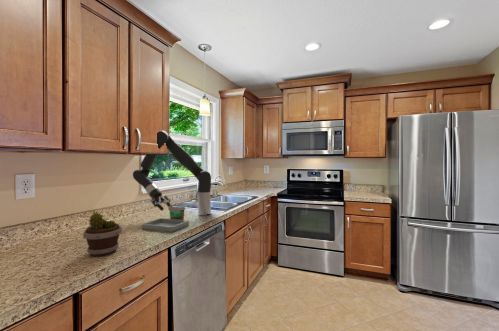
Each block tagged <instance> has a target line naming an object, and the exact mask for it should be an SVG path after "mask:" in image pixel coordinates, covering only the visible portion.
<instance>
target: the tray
mask: <svg viewBox="0 0 499 331" xmlns="http://www.w3.org/2000/svg"><path fill="white" fill-rule="evenodd" d="M189 222H190V221H189V220H185V219H184V220H176V219H170V218H162V217H160V218H157V219H154V220H151V221H148V222H145V223H142V224H141V229H142V230H147V231H156V232H157V231H158V232H163V233H164V232H165V233H175V232H176V231H179V230H181V229H184V228H186V227H188V226H189V225H190V224H189Z"/></svg>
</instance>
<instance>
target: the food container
mask: <svg viewBox="0 0 499 331" xmlns="http://www.w3.org/2000/svg"><path fill="white" fill-rule="evenodd" d="M185 210H186V207H185V206H172V207H171V206H169V207H168V211H169V219H176V220H185V219H184V217H185Z"/></svg>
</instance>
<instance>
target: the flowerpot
mask: <svg viewBox="0 0 499 331" xmlns="http://www.w3.org/2000/svg"><path fill="white" fill-rule="evenodd" d="M104 217H105V216H104V214H101V212H99V211H93V213H91V215H89V218H88V222H89V223H88V227H86V229H85V230H84V232H83V234H82V236H83V238H84V239H85V240H86V243H87V245H88V247H87V251H86V252H87V253H88V254H90V256H92V257H104V256H109V255H111V254H113V253H116V251H117V250H118V248H119V237H120V234H121V233H122V231H123V230H122V228H123V227H122V226H120V224H119V223H116V221H115V219H113V220H112V219H109V220H108V219H106V218H104Z"/></svg>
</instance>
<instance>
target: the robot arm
mask: <svg viewBox="0 0 499 331" xmlns="http://www.w3.org/2000/svg"><path fill="white" fill-rule="evenodd" d="M158 131H159V132H158ZM158 131H157V132H158V133H157V144H158V148H159V149H160V150H161V148H162V147H164V143H166V146H167V148H166V149H167V150H168V151H169V152H170V153H171V155H172V156H173V158H174V159H175V160H176V161H177V162H178V163H179V164H180V165H182V167H184V168H185V169H186V170H188V171H189V172H190V173H191V174H192V175H193V176H194V178H196V180H198V188H197V200H198V201H197V202H198V203H197V204H198V205H197V209H198V211H197V212H198V214H199V215H198V216H208V215H207V214H210V213H212V204H211V203H212V202H211V188H212V175H211V173H210V172H209V171H206V170H204V169H203V168H201V166H200V165H198V164H197V163H196V161H195V160H194V158H193V157H192V156H191V155H190V154H189V153H188V152H187V151H186V150H185V149H184V148H182V146H181V145H179V144H178V143H176V141H174V139H173V138H172V137H171V136H170V135H169V133H168V132H167V131H165V130H162V131H161V130H158ZM157 156H158V153H157V154H153V155H146V154H145V155H144V157H143V159H142V161H141V162H140V167H141V169H136V170H133V172H132V178H133V179H134V180H135V181H136V182H137V183H138V184H140V185H141V186H142V187H143V189H144V190H145V192H146V193H147V194H148V196H149V197H150V202H151V203H152V205H153V207H155V208H158V209H159V210H160V211H164V207H163V206H162V205H161V204H166V206H167V207H168V208H169V206H171V207H173V205H172V204H171V199H170V198H169V197H168V196H167V195H162V194H163V193H162V191H161V190H160V189H159V188H158V187H157V185H156V184H155V183H154V182H153V180H152V179H150V178H148V177H149V175H150V172H151V167H152V166H153V164H154V162H155V161H156V158H157ZM210 215H211V214H210Z"/></svg>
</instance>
